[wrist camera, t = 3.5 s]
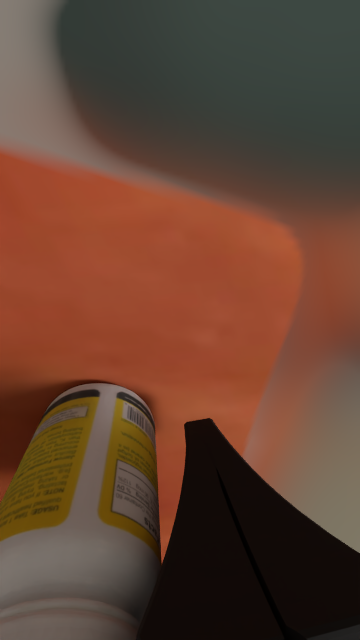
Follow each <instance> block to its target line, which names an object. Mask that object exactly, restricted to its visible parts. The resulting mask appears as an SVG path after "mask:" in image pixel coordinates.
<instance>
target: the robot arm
mask: <svg viewBox="0 0 360 640" xmlns="http://www.w3.org/2000/svg"><path fill="white" fill-rule="evenodd" d="M184 429H185V440H186V458H185V469H184V476H183V482H182V489H181V495H180V500H179V504H178V509H177V513H176V518H175V522H174V525H173V529H172V533H171V537H170V540H169V544H168V547H167V551H166V554H165V557H164V560H163V563H162V566H161V569H160V572H159V575H158V578H157V581H156V584H155V587H154V589H153V592H152V595H151V597H150V600H149V603H148V605H147V608H146V610H145V613H144V615H143V618H142V621H141V623H140V626H139V628H138V631H137V637H136V640H360V553H358V552H357V551H355V550H354V549H352V548H350V547H349V546H347V545H346V544H345V543H343V542H341V541H340V540H339V539H337V538H336V537H334V536H333V535H331V534H330V533H328V532H327V531H326V530H324V529H323V528H321V527H320V526H319V525H318V524H316V523H315V522H314V521H312V520H311V519H309V518H308V517H307V516H305V515H304V514H303V513H301V512H300V511H299V510H297V509H296V508H295V507H294V506H293V505H292V504H290V503H289V502H288V501H287V500H285V499H284V498H283V497H282V496H281V495H280V494H278V493H277V492H276V491H275V490H274V489H273V488H272V487H271V486H269V484H267V483H266V482H265V481H264V480H263V479H262V478H261V477H260V476H259V475H258V474H257V473H256V472H255V471H254V470H253V469H252V468H251V467H250V466H249V465H248V463H247V462H246V461H245V460H244V459H243V458H242V457H241V456H240V455H239V453H238V452H237V451H236V450H235V449H234V448H233V447H232V445H231V444H230V443H229V442H228V440H227V439H226V438H225V437H224V435H223V434H222V433H221V432H220V430H219V429H218V427H217V426H216V425H215V423H214V422H213V420H212V419H210V418H207V419H202V420H196V421H190V422H186V423H185V424H184Z"/></svg>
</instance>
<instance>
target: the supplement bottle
mask: <svg viewBox="0 0 360 640" xmlns="http://www.w3.org/2000/svg"><path fill="white" fill-rule="evenodd" d="M161 566H162V564H161V544H160V524H159V503H158V478H157V460H156V440H155V424H154V419H153V416H152V413H151V411H150V409H149V407H148V406H147V404H146V403H145V402H144V401H143V400H142V399H141V398H140V397H139V396H138V395H137V394H135V393H134V392H132V391H130V390H128V389H126V388H124V387H121V386H118V385H113V384H105V383H91V384H84V385H79V386H76V387H73V388H71V389H69V390H67V391H65V392H63V393H62V394H61V395H59V396H58V397H57V398H56V399H55V400H54V401H53V402H52V403H51V404H50V405H49V407H48V408H47V410H46V412H45V413H44V415H43V417H42V419H41V421H40V423H39V426H38V427H37V429H36V431H35V433H34V435H33V438H32V440H31V442H30V444H29V446H28V448H27V450H26V452H25V454H24V456H23V458H22V460H21V462H20V464H19V466H18V469H17V471H16V473H15V475H14V477H13V479H12V481H11V483H10V485H9V487H8V489H7V491H6V493H5V495H4V497H3V499H2V501H1V503H0V640H136V637H137V631H138V628H139V626H140V623H141V621H142V618H143V615H144V613H145V610H146V608H147V605H148V603H149V600H150V597H151V595H152V592H153V589H154V587H155V584H156V581H157V578H158V575H159V572H160V569H161Z"/></svg>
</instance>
